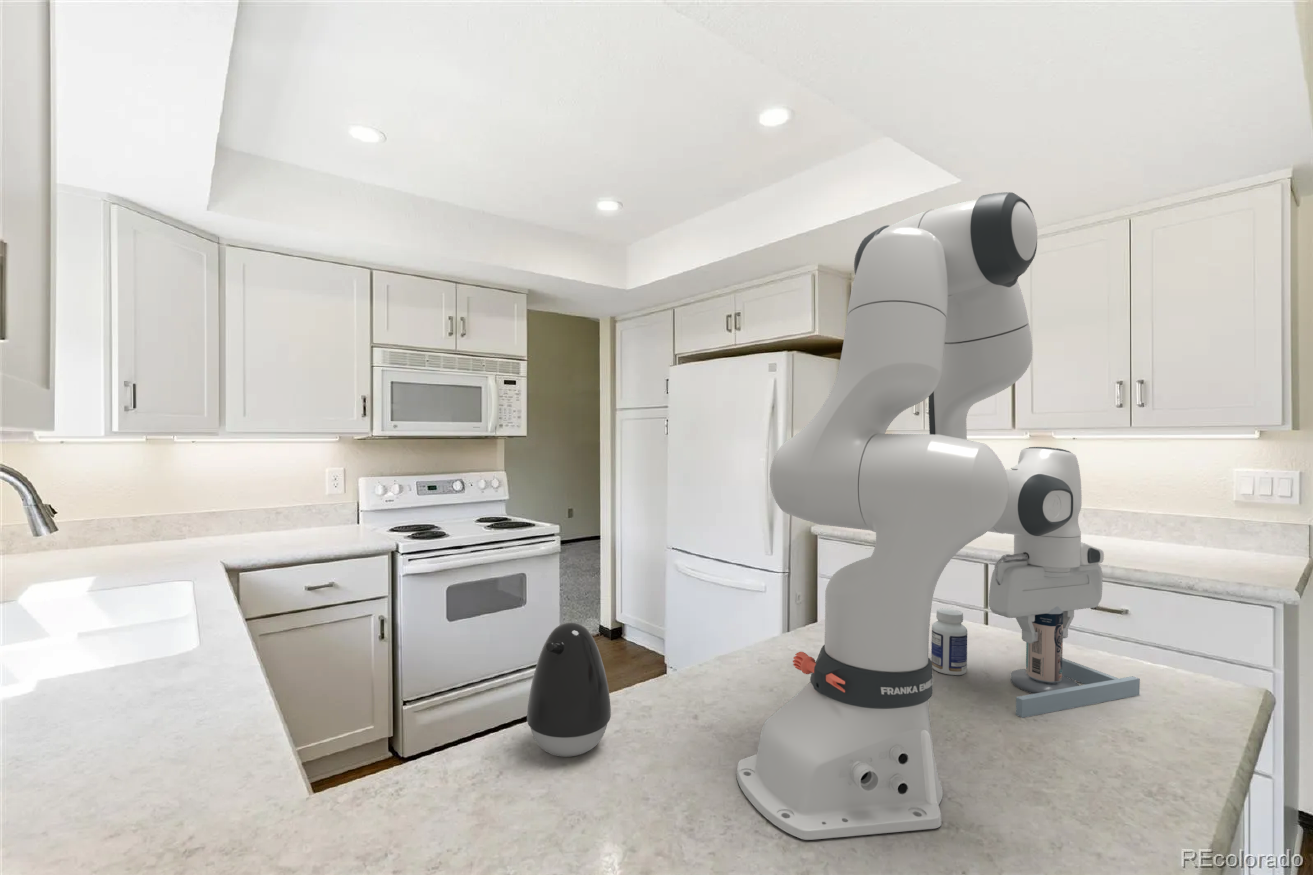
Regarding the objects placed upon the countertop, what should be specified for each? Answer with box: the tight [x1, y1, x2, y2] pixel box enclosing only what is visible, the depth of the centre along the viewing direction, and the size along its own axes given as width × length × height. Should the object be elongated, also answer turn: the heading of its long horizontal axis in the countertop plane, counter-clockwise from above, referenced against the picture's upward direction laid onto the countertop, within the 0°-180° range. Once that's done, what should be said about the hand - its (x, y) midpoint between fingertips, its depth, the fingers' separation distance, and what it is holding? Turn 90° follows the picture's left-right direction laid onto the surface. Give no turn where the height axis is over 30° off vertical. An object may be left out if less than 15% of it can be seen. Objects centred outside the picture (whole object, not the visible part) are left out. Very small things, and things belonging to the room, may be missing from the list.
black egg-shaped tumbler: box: [526, 622, 612, 758], centre depth 77 cm, size 10×10×15 cm
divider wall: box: [1015, 657, 1141, 719], centre depth 97 cm, size 24×14×2 cm, turn 110°
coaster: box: [1010, 668, 1079, 694], centre depth 97 cm, size 9×9×1 cm
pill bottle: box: [930, 607, 968, 676], centre depth 103 cm, size 5×5×10 cm
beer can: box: [1025, 606, 1064, 684], centre depth 97 cm, size 5×5×12 cm
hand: (1044, 639), depth 97 cm, fingers closed on beer can, 5 cm apart
